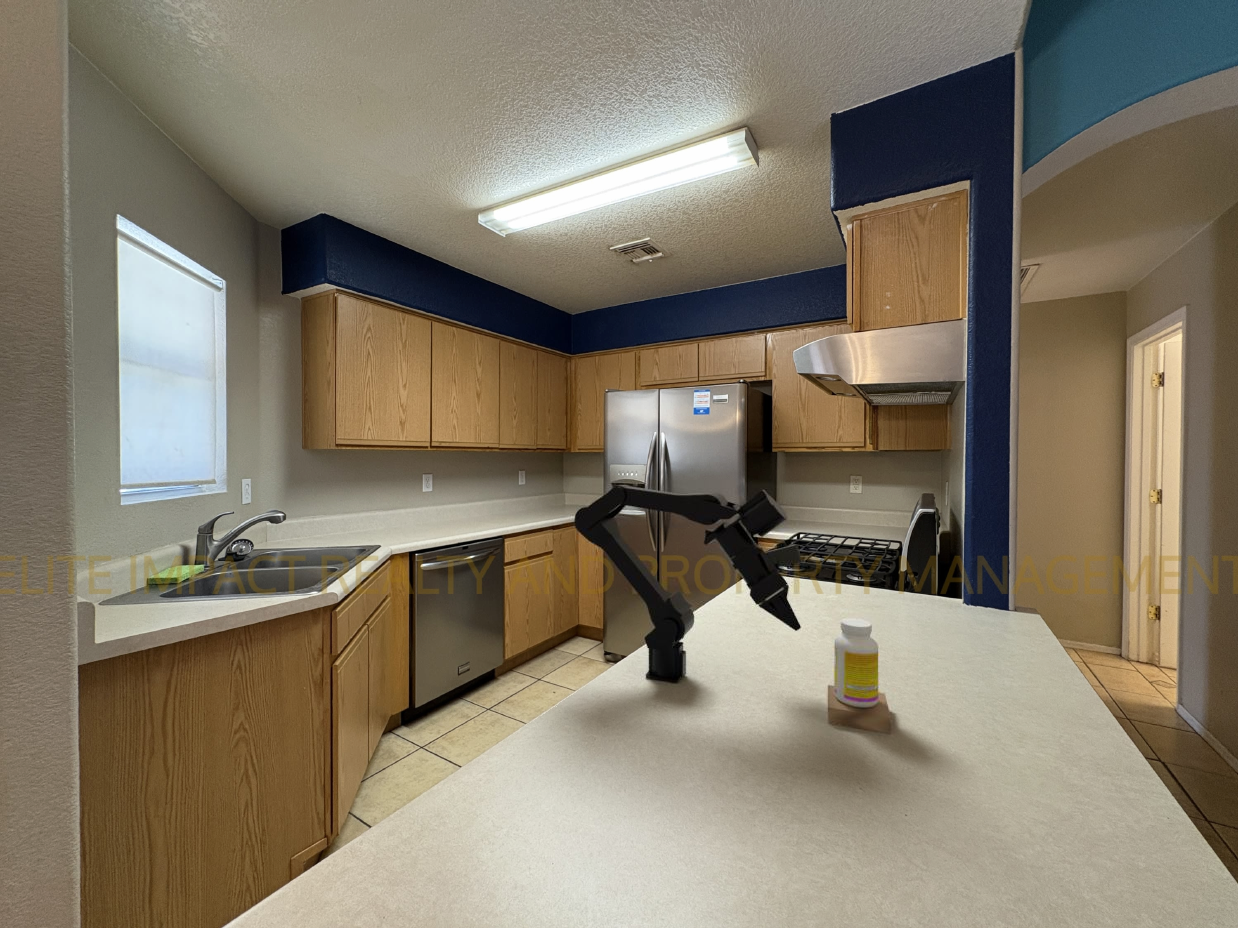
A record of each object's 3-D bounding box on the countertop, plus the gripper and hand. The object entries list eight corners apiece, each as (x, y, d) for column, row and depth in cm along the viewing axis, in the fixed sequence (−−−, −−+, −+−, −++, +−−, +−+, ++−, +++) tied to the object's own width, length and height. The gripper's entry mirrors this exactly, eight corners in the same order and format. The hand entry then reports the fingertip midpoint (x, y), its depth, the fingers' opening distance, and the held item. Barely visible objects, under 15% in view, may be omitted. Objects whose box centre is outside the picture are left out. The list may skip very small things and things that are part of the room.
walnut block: (827, 722, 84) (828, 707, 84) (827, 698, 92) (827, 684, 92) (890, 733, 80) (890, 717, 80) (884, 707, 89) (884, 693, 89)
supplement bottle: (887, 706, 84) (888, 626, 84) (853, 711, 82) (853, 630, 82) (858, 688, 91) (858, 614, 90) (825, 693, 89) (825, 618, 89)
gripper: (781, 524, 86) (844, 605, 82) (776, 526, 104) (827, 593, 100) (726, 562, 88) (785, 644, 84) (730, 558, 105) (779, 626, 101)
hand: (796, 624), depth 92 cm, fingers open, 9 cm apart
